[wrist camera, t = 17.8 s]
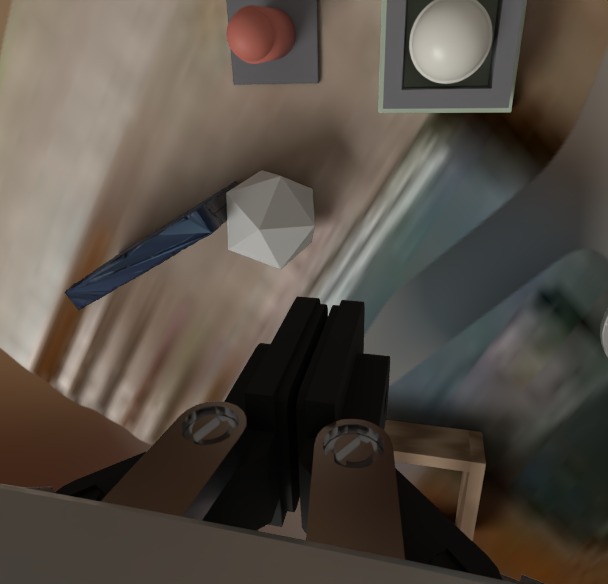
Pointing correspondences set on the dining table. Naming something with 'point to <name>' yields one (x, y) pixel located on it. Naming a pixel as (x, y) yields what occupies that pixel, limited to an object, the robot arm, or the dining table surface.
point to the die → (270, 218)
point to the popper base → (454, 96)
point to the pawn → (260, 34)
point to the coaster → (301, 58)
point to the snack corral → (445, 460)
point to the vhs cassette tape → (152, 250)
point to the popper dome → (450, 40)
